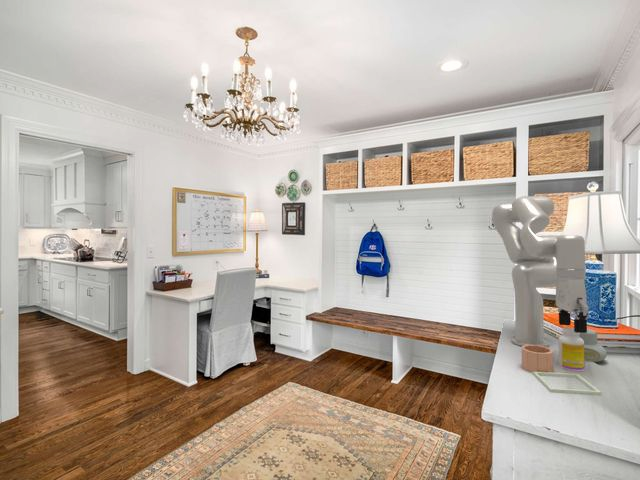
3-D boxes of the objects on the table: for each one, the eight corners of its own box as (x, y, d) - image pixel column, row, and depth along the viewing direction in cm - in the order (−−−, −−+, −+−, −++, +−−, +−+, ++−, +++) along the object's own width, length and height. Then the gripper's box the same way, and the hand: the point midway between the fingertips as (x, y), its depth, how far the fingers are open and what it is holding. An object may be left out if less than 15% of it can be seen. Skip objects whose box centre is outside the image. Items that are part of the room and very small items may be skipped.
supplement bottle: (589, 374, 107) (588, 332, 106) (565, 372, 108) (564, 331, 108) (577, 365, 113) (577, 326, 113) (555, 364, 115) (554, 326, 114)
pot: (517, 365, 115) (517, 344, 115) (546, 366, 113) (546, 345, 113) (527, 375, 107) (526, 352, 107) (559, 377, 105) (558, 354, 105)
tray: (533, 376, 106) (533, 371, 106) (577, 379, 103) (577, 373, 103) (550, 395, 94) (550, 389, 94) (601, 398, 91) (601, 392, 91)
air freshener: (566, 360, 118) (566, 331, 118) (566, 353, 125) (566, 325, 125) (608, 366, 112) (608, 335, 112) (605, 358, 119) (605, 329, 119)
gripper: (545, 272, 119) (547, 322, 119) (571, 277, 102) (573, 335, 102) (570, 272, 118) (571, 322, 117) (600, 277, 101) (602, 336, 100)
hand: (572, 328), depth 110 cm, fingers open, 9 cm apart
